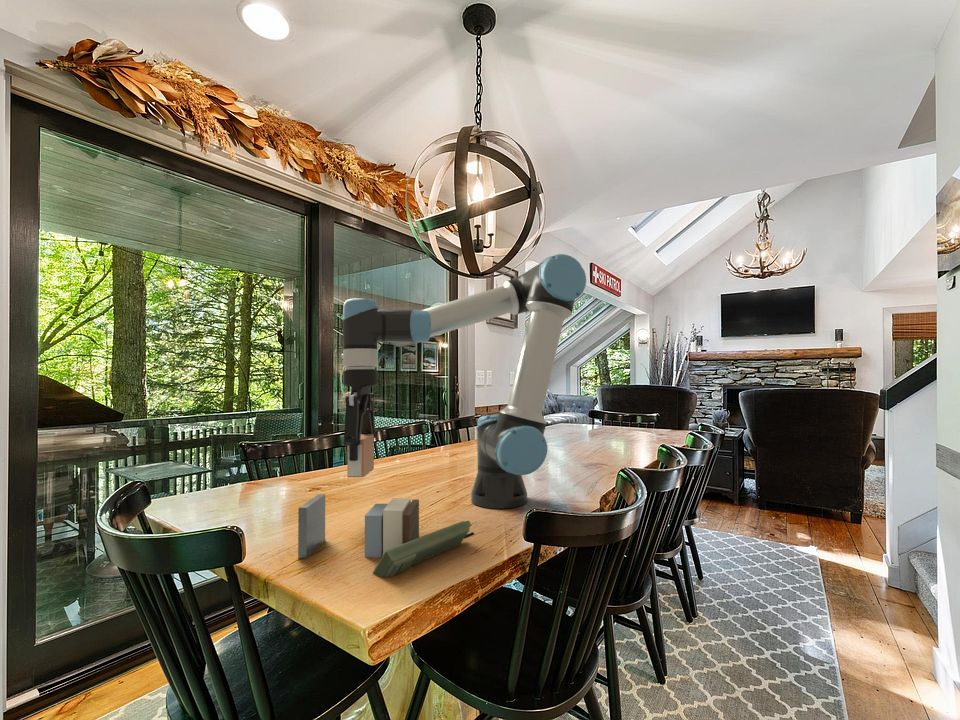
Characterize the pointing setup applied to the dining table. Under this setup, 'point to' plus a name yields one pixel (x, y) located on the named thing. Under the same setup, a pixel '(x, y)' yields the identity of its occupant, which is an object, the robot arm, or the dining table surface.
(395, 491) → the dining table surface
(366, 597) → the dining table surface
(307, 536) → the bookend
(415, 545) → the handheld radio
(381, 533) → the slate book
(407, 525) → the dark brown block piece
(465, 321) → the robot arm
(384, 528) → the cream book
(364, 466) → the rust book
